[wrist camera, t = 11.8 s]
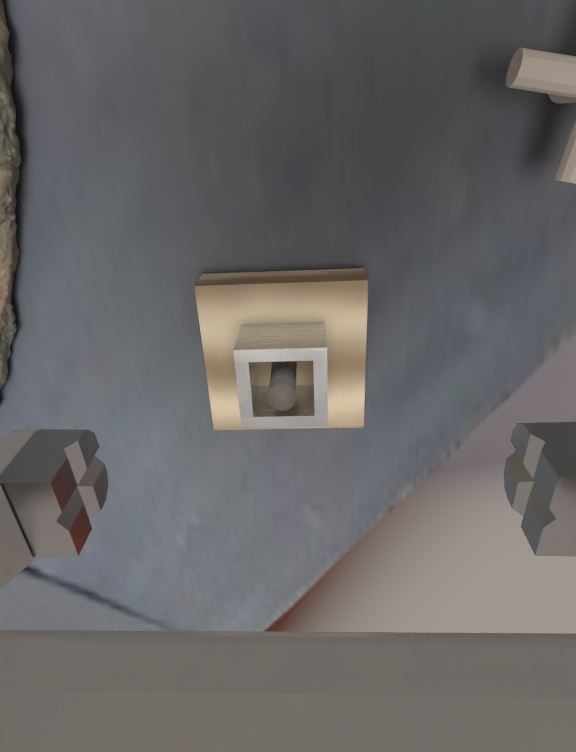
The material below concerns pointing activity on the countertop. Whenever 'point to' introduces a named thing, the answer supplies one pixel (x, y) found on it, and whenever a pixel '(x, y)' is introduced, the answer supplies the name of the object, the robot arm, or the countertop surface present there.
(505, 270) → the countertop surface
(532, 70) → the pipe connector
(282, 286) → the shaft stand
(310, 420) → the silver square ring
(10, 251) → the long grey stone
